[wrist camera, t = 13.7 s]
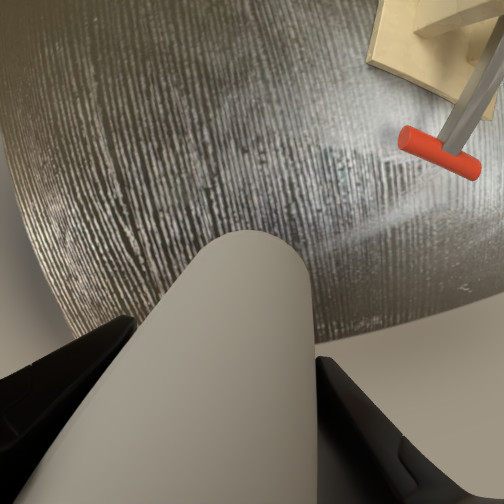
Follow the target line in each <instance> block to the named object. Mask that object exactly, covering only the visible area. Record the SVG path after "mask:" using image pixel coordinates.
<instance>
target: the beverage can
mask: <svg viewBox="0 0 504 504" xmlns="http://www.w3.org/2000/svg"><path fill="white" fill-rule="evenodd" d="M13 504H317V395H316V367H315V346H314V328H313V312H312V297H311V286H310V277H309V274H308V271H307V269H306V266H305V264H304V262H303V260H302V259H301V258H300V256H299V255H298V254H297V253H296V251H295V250H294V249H293V248H292V247H291V246H289V245H288V244H287V243H285V242H284V241H283V240H281V239H280V238H278V237H276V236H273V235H271V234H268V233H266V232H263V231H255V230H240V231H236V232H231V233H227V234H225V235H223V236H221V237H219V238H217V239H214V240H213V241H211V242H210V243H209V244H207V245H206V246H205V247H203V248H202V249H201V250H200V251H199V252H198V254H197V255H196V256H195V257H194V259H193V260H192V261H191V262H190V264H189V265H188V266H187V267H186V269H185V270H184V271H183V272H182V274H181V275H180V276H179V277H178V279H177V280H176V281H175V282H174V284H173V285H172V286H171V287H170V289H169V290H168V291H167V293H166V294H165V295H164V296H163V298H162V299H161V300H160V301H159V303H158V304H157V305H156V307H155V308H154V309H153V310H152V312H151V313H150V314H149V315H148V317H147V318H146V319H145V321H144V322H143V323H142V324H141V326H140V327H139V328H138V330H137V331H136V332H135V333H134V335H133V336H132V337H131V338H130V340H129V341H128V342H127V344H126V345H125V346H124V347H123V349H122V350H121V351H120V353H119V354H118V355H117V356H116V358H115V359H114V360H113V362H112V363H111V364H110V366H109V367H108V368H107V370H106V371H105V372H104V373H103V375H102V376H101V377H100V379H99V380H98V381H97V383H96V384H95V385H94V387H93V388H92V389H91V391H90V392H89V393H88V395H87V396H86V397H85V399H84V400H83V401H82V403H81V404H80V406H79V407H78V408H77V410H76V411H75V412H74V414H73V415H72V417H71V418H70V419H69V421H68V422H67V424H66V425H65V426H64V428H63V429H62V431H61V432H60V433H59V435H58V436H57V438H56V439H55V441H54V442H53V443H52V445H51V446H50V448H49V449H48V451H47V452H46V454H45V455H44V457H43V458H42V460H41V461H40V462H39V464H38V465H37V467H36V468H35V470H34V471H33V473H32V474H31V476H30V478H29V479H28V481H27V482H26V484H25V485H24V487H23V488H22V490H21V491H20V493H19V494H18V496H17V498H16V499H15V501H14V503H13Z"/></svg>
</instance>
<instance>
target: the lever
mask: <svg viewBox="0 0 504 504" xmlns="http://www.w3.org/2000/svg"><path fill="white" fill-rule="evenodd" d="M503 78H504V15H501V16H499V18H498V20H497V22H496V25H495V27H494V29H493V31H492V34H491V36H490V38H489V40H488V42H487V44H486V46H485V49H484V51H483V53H482V55H481V57H480V59H479V61H478V63H477V65H476V67H475V69H474V71H473V73H472V75H471V77H470V79H469V81H468V82H467V84H466V86H465V88H464V90H463V92H462V94H461V96H460V97H459V99H458V101H457V103H456V105H455V107H454V108H453V110H452V112H451V114H450V115H449V117H448V119H447V121H446V122H445V124H444V126H443V128H442V129H441V131H440V133H439V135H438V136H437V138H435V137H433V136H431V135H429V134H426V133H424V132H422V131H420V130H418V129H415V128H413V127H411V126H408V125H407V126H404V127H403V128H402V130H401V132H400V134H399V137H398V147H399V149H400V150H403V151H405V152H408V153H410V154H412V155H415V156H417V157H420V158H422V159H424V160H427V161H429V162H431V163H434V164H436V165H438V166H440V167H442V168H445V169H447V170H449V171H451V172H453V173H455V174H458V175H460V176H462V177H464V178H466V179H468V180H470V181H475V180H476V179H478V177H479V176H480V173H481V169H482V167H481V163H480V161H479V160H478V159H476V158H474V157H472V156H471V155H469V154H467V153H465V152H463V151H461V149H462V148H463V146H464V145H465V143H466V142H467V140H468V138H469V137H470V135H471V134H472V132H473V130H474V129H475V127H476V125H477V124H478V122H479V120H480V119H481V117H482V115H483V114H484V112H485V110H486V109H487V107H488V105H489V103H490V102H491V100H492V98H493V96H494V94H495V93H496V91H497V89H498V87H499V85H500V83H501V82H502V80H503Z"/></svg>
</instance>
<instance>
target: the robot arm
mask: <svg viewBox="0 0 504 504" xmlns="http://www.w3.org/2000/svg"><path fill="white" fill-rule="evenodd" d="M136 329H137V321H136V319H135V318H134V317H131V316H127V315H120V316H118V317H117V318H115V319H113V320H111V321H109V322H107V323H105V324H104V325H102V326H100V327H98V328H96V329H94V330H92V331H91V332H89V333H87V334H85V335H83V336H81V337H80V338H78V339H76V340H74V341H72V342H70V343H69V344H67V345H65V346H63V347H61V348H60V349H58V350H56V351H54V352H52V353H50V354H48V355H47V356H44V357H43V358H41V359H39V360H37V361H35V362H33V363H32V366H31V365H28V366H26V367H24V368H22V369H20V370H19V371H17V372H15V373H13V374H11V375H9V376H7V377H5V378H3V379H0V504H13V503H14V501H15V499H16V498H17V496H18V494H19V493H20V491H21V490H22V488H23V487H24V485H25V484H26V482H27V481H28V479H29V478H30V476H31V474H32V473H33V471H34V470H35V468H36V467H37V465H38V464H39V462H40V461H41V460H42V458H43V457H44V455H45V454H46V452H47V451H48V449H49V448H50V446H51V445H52V443H53V442H54V441H55V439H56V438H57V436H58V435H59V433H60V432H61V431H62V429H63V428H64V426H65V425H66V424H67V422H68V421H69V419H70V418H71V417H72V415H73V414H74V412H75V411H76V410H77V408H78V407H79V406H80V404H81V403H82V401H83V400H84V399H85V397H86V396H87V395H88V393H89V392H90V391H91V389H92V388H93V387H94V385H95V384H96V383H97V381H98V380H99V379H100V377H101V376H102V375H103V373H104V372H105V371H106V370H107V368H108V367H109V366H110V364H111V363H112V362H113V360H114V359H115V358H116V356H117V355H118V354H119V353H120V351H121V350H122V349H123V347H124V346H125V345H126V344H127V342H128V341H129V340H130V338H131V337H132V336H133V335H134V333H135V332H136ZM315 367H316V395H317V504H504V499H493V498H484V497H478V496H475V495H472V494H470V493H468V492H466V491H465V490H464V489H462V488H461V487H460V486H458V485H457V484H456V483H455V482H454V481H453V480H451V479H450V478H449V477H448V476H447V475H445V474H444V473H443V472H442V471H441V470H439V469H438V468H437V467H436V466H435V465H434V464H433V463H432V462H430V461H429V460H428V459H427V458H426V457H425V456H424V455H423V454H422V453H421V452H420V451H419V450H418V449H417V448H416V447H415V446H414V445H413V444H412V443H411V442H410V441H409V440H408V439H407V438H406V437H405V436H402V435H403V434H402V433H401V432H400V431H399V430H398V429H397V428H396V427H395V425H394V424H393V423H392V422H391V421H390V420H389V419H388V418H387V417H386V416H385V415H384V414H383V413H382V411H381V410H380V409H379V408H378V407H377V406H376V405H375V404H374V403H373V402H372V401H371V400H370V399H369V398H368V397H367V396H366V394H365V393H364V392H363V391H362V390H361V389H360V388H359V387H358V386H357V385H356V384H355V383H354V382H353V380H352V379H351V378H350V377H349V376H348V375H347V374H346V373H345V372H344V371H343V370H342V369H341V368H340V366H339V365H338V364H337V363H336V362H335V361H334V360H333V359H332V358H330V357H323V356H318V357H317V358H316V359H315Z"/></svg>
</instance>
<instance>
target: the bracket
mask: <svg viewBox="0 0 504 504" xmlns="http://www.w3.org/2000/svg"><path fill="white" fill-rule="evenodd" d="M501 15H504V0H379V4H378V9H377V13H376V18H375V23H374V27H373V32H372V36H371V41H370V45H369V49H368V54H367V58H366V63H367V64H370V65H372V66H375V67H377V68H380V69H382V70H385V71H387V72H389V73H392V74H394V75H396V76H399V77H401V78H403V79H405V80H408V81H410V82H412V83H414V84H416V85H418V86H420V87H423V88H425V89H427V90H429V91H431V92H433V93H435V94H437V95H438V96H440V97H442V98H444V99H446V100H448V101H450V102H452V103H453V104H455V105H456V103H457V101H458V99H459V97H460V96H461V94H462V92H463V90H464V88H465V86H466V84H467V82H468V81H469V79H470V77H471V75H472V73H473V71H474V69H475V67H476V65H477V63H478V61H479V59H480V57H481V55H482V53H483V51H484V49H485V46H486V44H487V42H488V40H489V38H490V36H491V34H492V31H493V29H494V27H495V25H496V22H497V20H498V18H499V16H501ZM497 91H498V89H497ZM497 91H496V93H495V94H494V96H493V98H492V100H491V102H490V103H489V105H488V107H487V109H486V110H485V112H484V114H483V115H482V117H481V120H486V121H492V117H493V113H494V108H495V102H496V97H497Z"/></svg>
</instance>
